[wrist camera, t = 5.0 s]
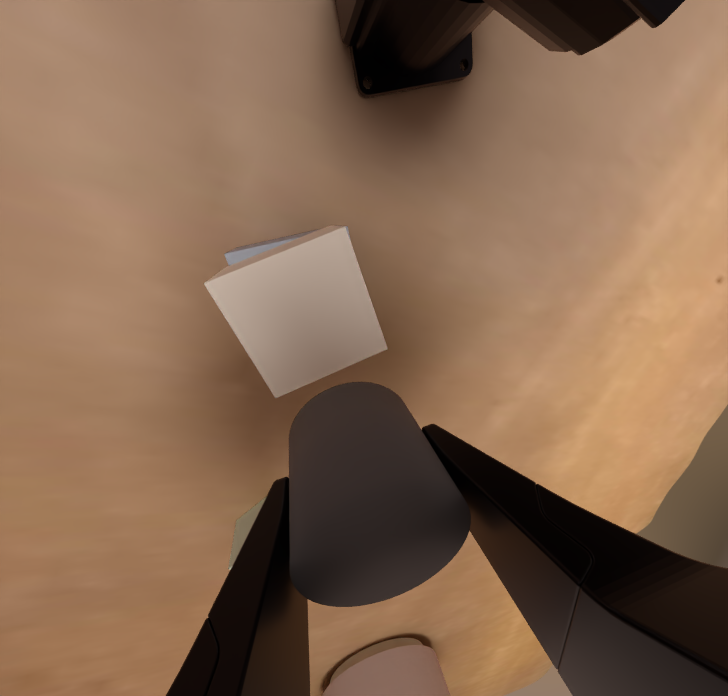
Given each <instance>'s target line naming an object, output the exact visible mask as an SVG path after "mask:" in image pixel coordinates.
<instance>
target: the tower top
mask: <svg viewBox="0 0 728 696" xmlns="http://www.w3.org/2000/svg"><path fill="white" fill-rule="evenodd" d="M204 285H205V286H206V288H207V289H208V291H209V293H210V294H211V296H212V297H213V299H214V301H215V302H216V304H217V305H218V307H219V309H220V310H221V312H222V313H223V315H224V317H225V318H226V320H227V321H228V323H229V325H230V326H231V328H232V329H233V331H234V333H235V334H236V336H237V337H238V339H239V341H240V342H241V344H242V345H243V347H244V349H245V350H246V352H247V353H248V355H249V357H250V358H251V360H252V361H253V363H254V365H255V366H256V368H257V369H258V371H259V373H260V374H261V376H262V377H263V379H264V381H265V382H266V384H267V385H268V387H269V389H270V390H271V392H272V393H273V395H274V397H275V398H278V397H280V396H282V395H285V394H287V393H289V392H292V391H294V390H296V389H298V388H301V387H303V386H305V385H307V384H310V383H312V382H314V381H317V380H319V379H321V378H323V377H326V376H328V375H330V374H332V373H335V372H337V371H339V370H341V369H344V368H346V367H348V366H351V365H353V364H355V363H357V362H360V361H362V360H364V359H366V358H369V357H371V356H373V355H376V354H378V353H380V352H382V351H385V350H387V349H388V348H387V345H386V342H385V339H384V336H383V333H382V331H381V328H380V325H379V322H378V319H377V316H376V313H375V310H374V308H373V305H372V302H371V299H370V296H369V293H368V290H367V287H366V285H365V282H364V279H363V276H362V273H361V270H360V267H359V264H358V262H357V259H356V256H355V253H354V250H353V247H352V244H351V241H350V239H349V236H348V233H347V230H346V227H345V226H333V225H330V226H327V227H325V228H322V229H320V230H317V231H315V232H312V233H310V234H307V235H305V236H302V237H300V238H297V239H295V240H292V241H290V242H287V243H285V244H282V245H280V246H277V247H275V248H272V249H270V250H267V251H265V252H262V253H260V254H257V255H255V256H252V257H250V258H247V259H245V260H242V261H240V262H237V263H235V264H232V265H230V266H227V267H225V268H224V269H222V270H221V271H219V272H218V273H217V274H215V275H214V276H213V277H211V278H210V279H209V280H207V281H206V282H205V283H204Z"/></svg>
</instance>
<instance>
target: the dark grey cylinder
mask: <svg viewBox="0 0 728 696" xmlns="http://www.w3.org/2000/svg"><path fill="white" fill-rule="evenodd" d="M470 524H471V514H470V509H469V507H468V504H467V502H466V501H465V499H464V497H463V496H462V494H461V493H460V491H459V489H458V488H457V486H456V485H455V483H454V481H453V480H452V478H451V477H450V475H449V473H448V472H447V470H446V469H445V467H444V465H443V464H442V462H441V461H440V459H439V457H438V456H437V454H436V453H435V451H434V449H433V448H432V446H431V445H430V443H429V441H428V440H427V438H426V437H425V435H424V433H423V432H422V430H421V429H420V427H419V425H418V424H417V422H416V421H415V419H414V418H413V416H412V414H411V413H410V411H409V410H408V408H407V406H406V405H405V403H404V402H403V400H402V399H401V398H400V397H399V396H398V395H397V394H396V393H395V392H393V391H392V390H390V389H388V388H386V387H384V386H381V385H379V384H374V383H369V382H352V383H346V384H342V385H338V386H335V387H332V388H330V389H327V390H325V391H323V392H322V393H320V394H318V395H317V396H315V397H314V398H312V399H311V400H310V401H309V402H308V403H307V404H305V406H304V407H303V408H302V409H301V410H300V411H299V413H298V414H297V416H296V417H295V419H294V421H293V423H292V426H291V429H290V434H289V530H290V577H291V581H292V583H293V585H294V587H295V588H296V589H297V591H298V592H299V593H300V594H301V595H303V596H304V597H305V598H307V599H309V600H311V601H313V602H316V603H319V604H322V605H327V606H336V607H352V606H361V605H367V604H372V603H376V602H380V601H383V600H387V599H390V598H393V597H395V596H398V595H400V594H402V593H405V592H407V591H409V590H411V589H413V588H415V587H416V586H418V585H420V584H422V583H423V582H425V581H426V580H428V579H429V578H431V577H432V576H434V575H435V574H436V573H438V572H439V571H440V570H441V569H442V568H443V567H445V566H446V565H447V564H448V563H449V562H450V561H451V560H452V559H453V557H454V556H455V555H456V554H457V553H458V551H459V550H460V548H461V547H462V545H463V543H464V542H465V540H466V538H467V535H468V532H469V529H470Z"/></svg>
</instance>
